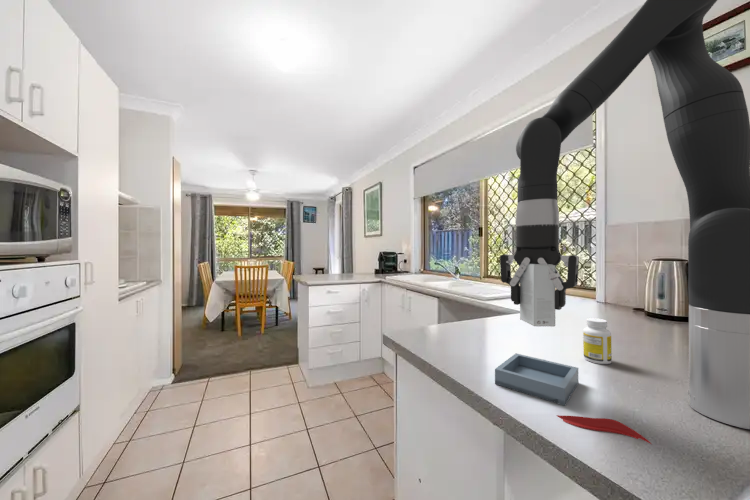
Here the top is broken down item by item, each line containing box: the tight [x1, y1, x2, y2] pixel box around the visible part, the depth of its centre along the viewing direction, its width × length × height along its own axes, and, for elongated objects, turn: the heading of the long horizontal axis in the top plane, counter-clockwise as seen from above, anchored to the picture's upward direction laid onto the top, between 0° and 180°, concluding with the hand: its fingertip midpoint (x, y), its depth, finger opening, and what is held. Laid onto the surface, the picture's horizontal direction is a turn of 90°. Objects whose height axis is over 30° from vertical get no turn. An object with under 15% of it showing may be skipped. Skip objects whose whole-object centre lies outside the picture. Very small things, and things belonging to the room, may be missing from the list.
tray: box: [494, 353, 579, 407], centre depth 59 cm, size 12×12×3 cm
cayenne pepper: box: [556, 414, 652, 445], centre depth 44 cm, size 12×5×2 cm, turn 44°
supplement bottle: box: [582, 317, 613, 365], centre depth 71 cm, size 5×5×10 cm
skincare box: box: [519, 264, 556, 328], centre depth 59 cm, size 6×4×12 cm
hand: (536, 306), depth 59 cm, fingers closed on skincare box, 7 cm apart
